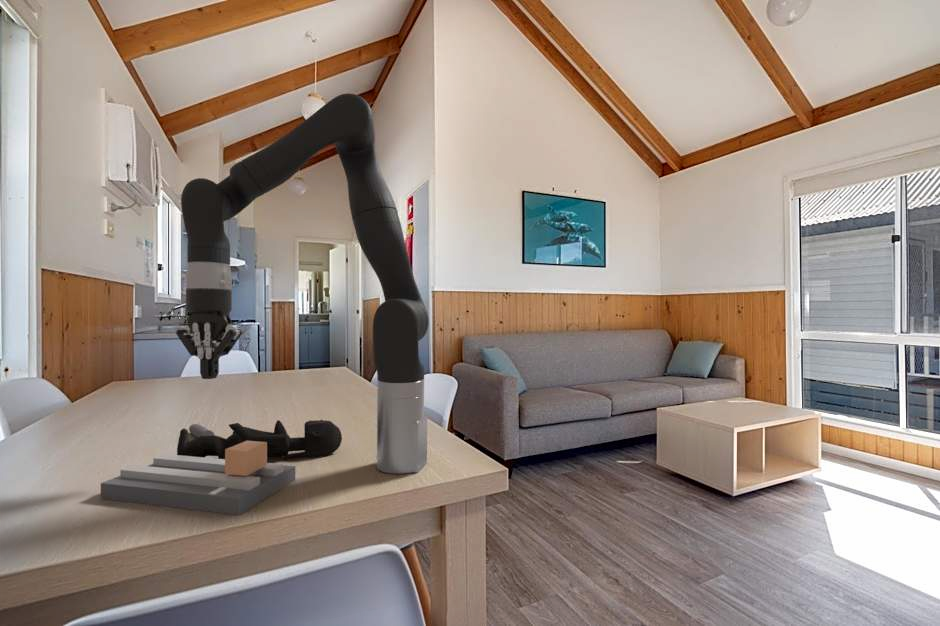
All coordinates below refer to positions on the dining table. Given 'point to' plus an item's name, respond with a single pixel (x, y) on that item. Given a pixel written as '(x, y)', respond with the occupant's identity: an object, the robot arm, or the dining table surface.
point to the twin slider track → (196, 484)
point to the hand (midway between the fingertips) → (209, 378)
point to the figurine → (316, 442)
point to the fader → (246, 458)
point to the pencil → (199, 430)
